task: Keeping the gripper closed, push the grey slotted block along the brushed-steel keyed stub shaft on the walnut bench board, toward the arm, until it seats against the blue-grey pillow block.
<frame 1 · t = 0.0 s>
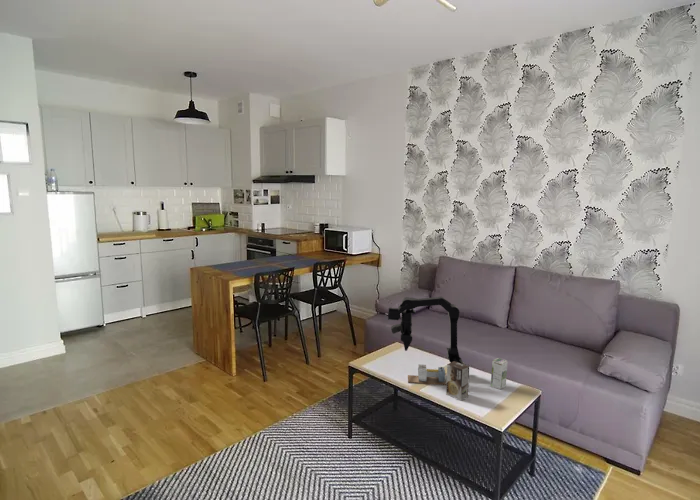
hand: (405, 347, 234), 15 cm above the table, fingers open, 9 cm apart
bench board: (426, 380, 226), on the table
syrup box: (498, 386, 220), on the table
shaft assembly: (431, 373, 225), on the bench board, point 4 cm above the table
coffee box: (456, 396, 210), on the table
grey slotted block: (422, 372, 226), point 4 cm above the table, slide at 0.0 cm
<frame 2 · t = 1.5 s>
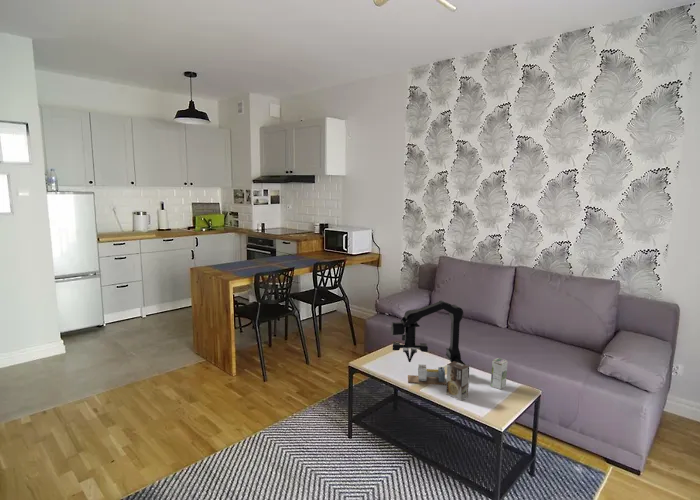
hand: (409, 361, 229), 9 cm above the table, fingers closed
nothing on the table moved.
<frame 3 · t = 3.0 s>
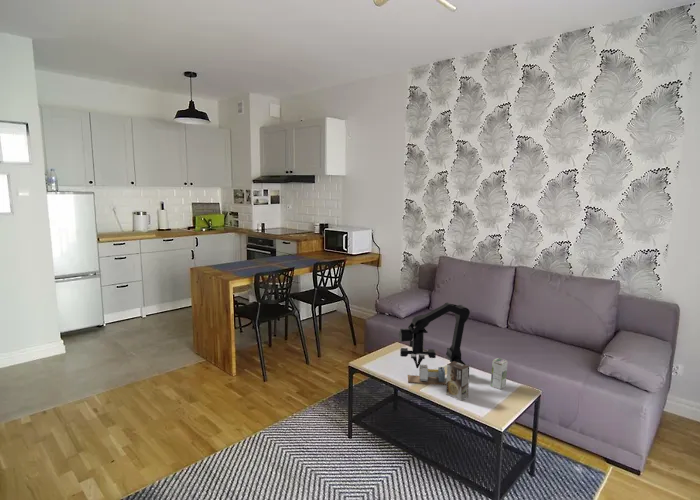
hand: (417, 367, 229), 6 cm above the table, fingers closed
grey slotted block: (423, 372, 226), point 4 cm above the table, slide at 0.7 cm, touching gripper
everything else where it was.
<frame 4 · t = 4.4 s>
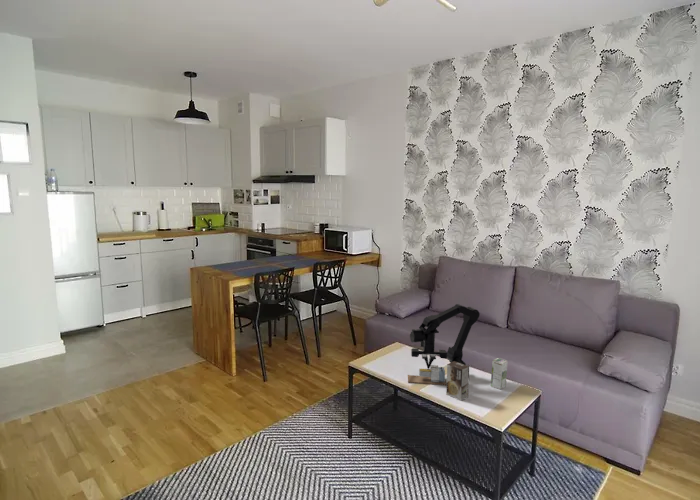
hand: (428, 368, 228), 6 cm above the table, fingers closed
grey slotted block: (434, 373, 225), point 4 cm above the table, slide at 6.5 cm, touching gripper
everything else where it was.
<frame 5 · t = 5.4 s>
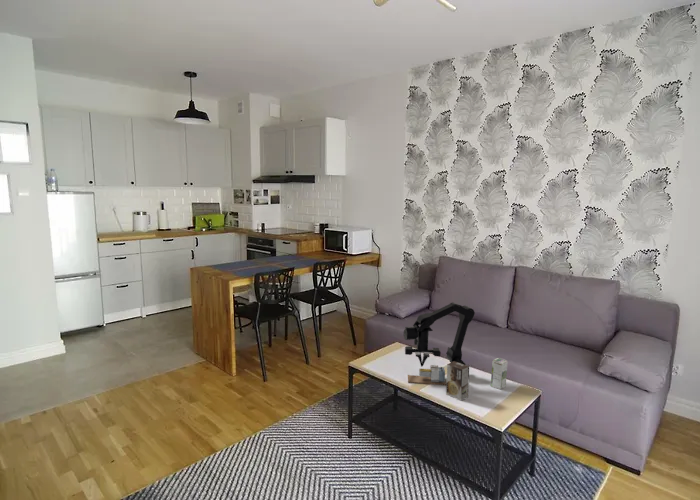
hand: (421, 366, 228), 7 cm above the table, fingers closed
grey slotted block: (434, 373, 225), point 4 cm above the table, slide at 6.5 cm
everything else where it was.
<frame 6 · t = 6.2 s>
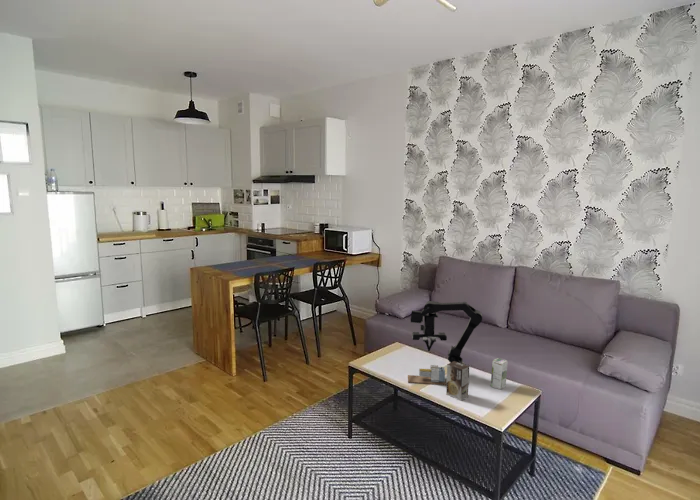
hand: (428, 350, 236), 12 cm above the table, fingers closed
nothing on the table moved.
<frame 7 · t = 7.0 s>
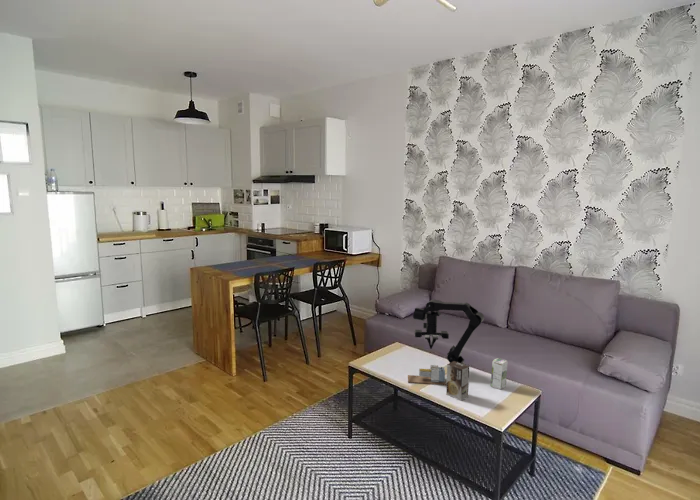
hand: (430, 348, 239), 13 cm above the table, fingers closed
nothing on the table moved.
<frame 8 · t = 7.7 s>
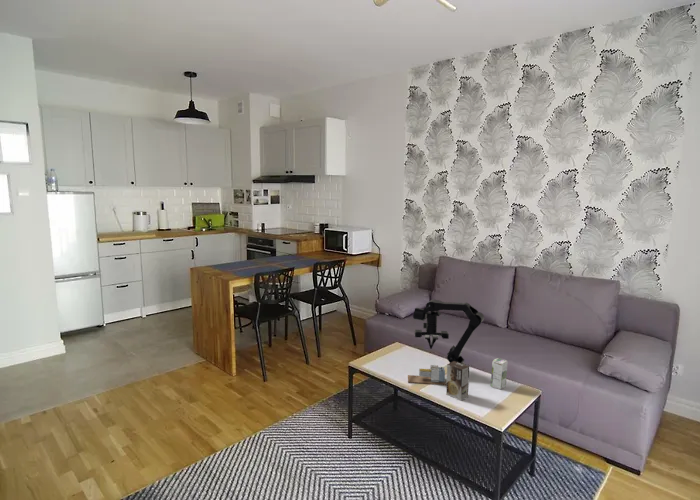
hand: (430, 348, 239), 13 cm above the table, fingers closed
nothing on the table moved.
at the end: grey slotted block slide at 6.5 cm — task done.
